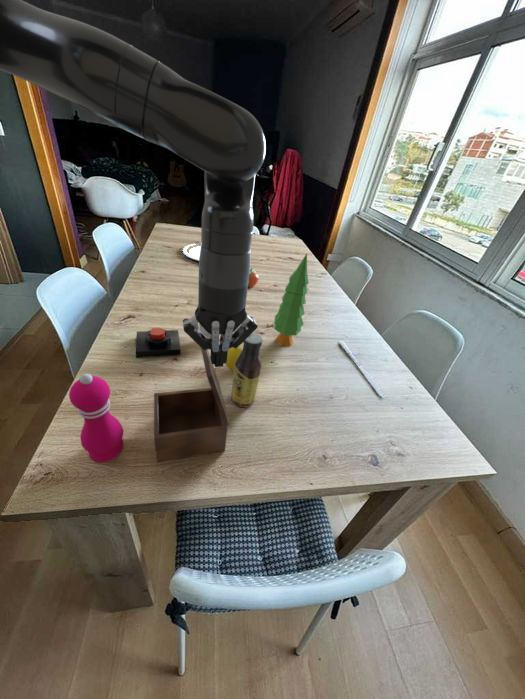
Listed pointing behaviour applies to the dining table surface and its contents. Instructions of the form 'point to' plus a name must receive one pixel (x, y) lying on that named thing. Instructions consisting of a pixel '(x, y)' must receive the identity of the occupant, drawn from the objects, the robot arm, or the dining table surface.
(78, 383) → the pepper mill
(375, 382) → the butter knife
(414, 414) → the dining table surface
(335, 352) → the dining table surface
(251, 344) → the sauce bottle
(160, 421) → the box
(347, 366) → the dining table surface
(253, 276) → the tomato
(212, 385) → the lid
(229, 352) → the lemon
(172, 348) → the button housing
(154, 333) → the button
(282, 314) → the decorative tree
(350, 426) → the dining table surface
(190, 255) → the plate
